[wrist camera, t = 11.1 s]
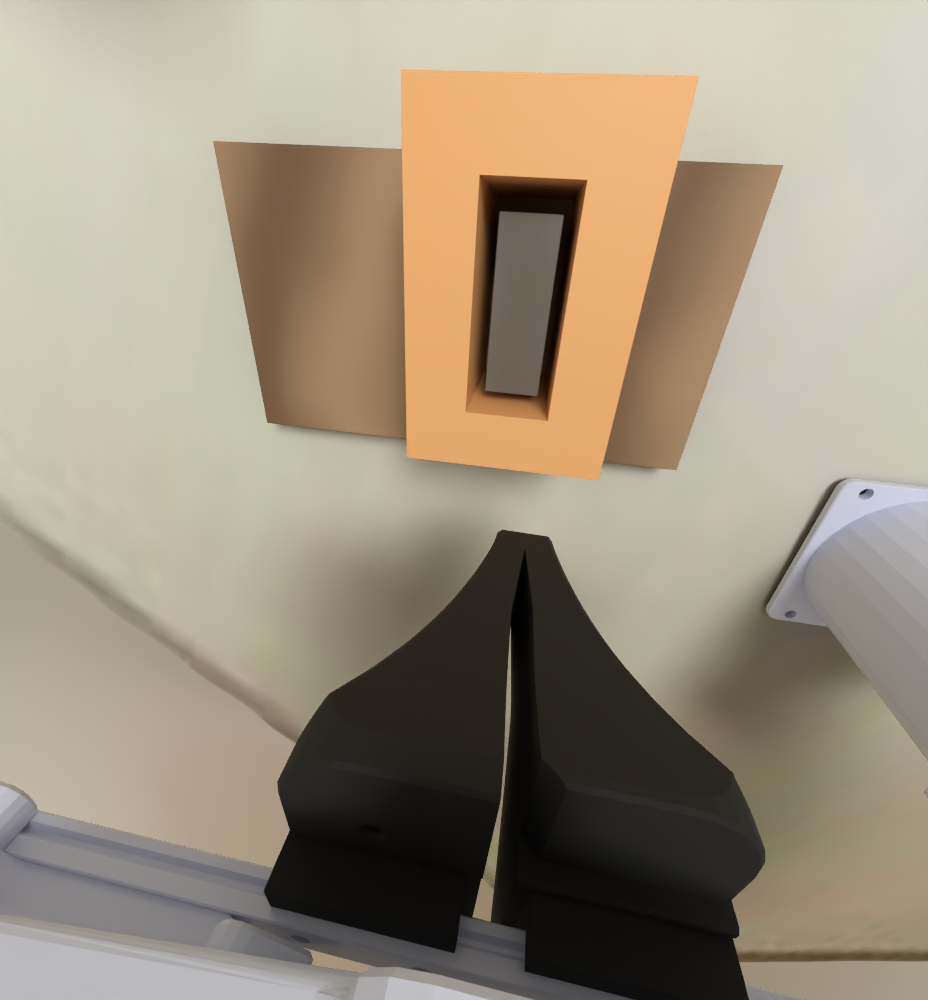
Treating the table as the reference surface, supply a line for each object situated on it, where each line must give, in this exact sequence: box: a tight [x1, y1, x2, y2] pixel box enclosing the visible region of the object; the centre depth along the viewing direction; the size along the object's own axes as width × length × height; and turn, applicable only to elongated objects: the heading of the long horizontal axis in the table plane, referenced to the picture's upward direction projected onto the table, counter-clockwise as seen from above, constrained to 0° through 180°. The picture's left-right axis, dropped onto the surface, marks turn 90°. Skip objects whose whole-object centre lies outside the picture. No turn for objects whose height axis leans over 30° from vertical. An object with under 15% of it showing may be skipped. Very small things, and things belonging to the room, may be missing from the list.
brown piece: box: [213, 141, 783, 470], centre depth 15 cm, size 18×10×6 cm, turn 87°
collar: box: [401, 70, 699, 480], centre depth 13 cm, size 6×9×5 cm, turn 177°
